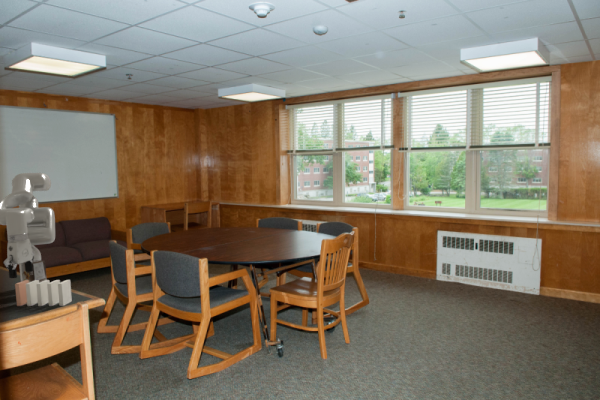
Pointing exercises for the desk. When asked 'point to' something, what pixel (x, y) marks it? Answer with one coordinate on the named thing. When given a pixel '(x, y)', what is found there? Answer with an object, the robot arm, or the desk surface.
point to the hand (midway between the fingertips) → (21, 274)
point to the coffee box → (35, 271)
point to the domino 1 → (21, 292)
